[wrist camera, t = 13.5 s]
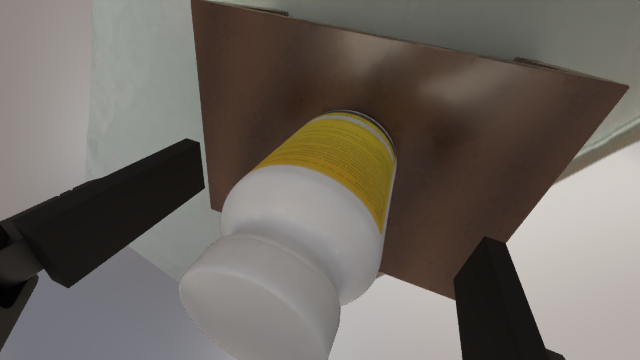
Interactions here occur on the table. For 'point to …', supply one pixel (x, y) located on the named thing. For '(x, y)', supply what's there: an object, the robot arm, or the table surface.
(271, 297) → the pill bottle
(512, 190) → the shelf
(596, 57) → the table surface
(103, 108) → the table surface
